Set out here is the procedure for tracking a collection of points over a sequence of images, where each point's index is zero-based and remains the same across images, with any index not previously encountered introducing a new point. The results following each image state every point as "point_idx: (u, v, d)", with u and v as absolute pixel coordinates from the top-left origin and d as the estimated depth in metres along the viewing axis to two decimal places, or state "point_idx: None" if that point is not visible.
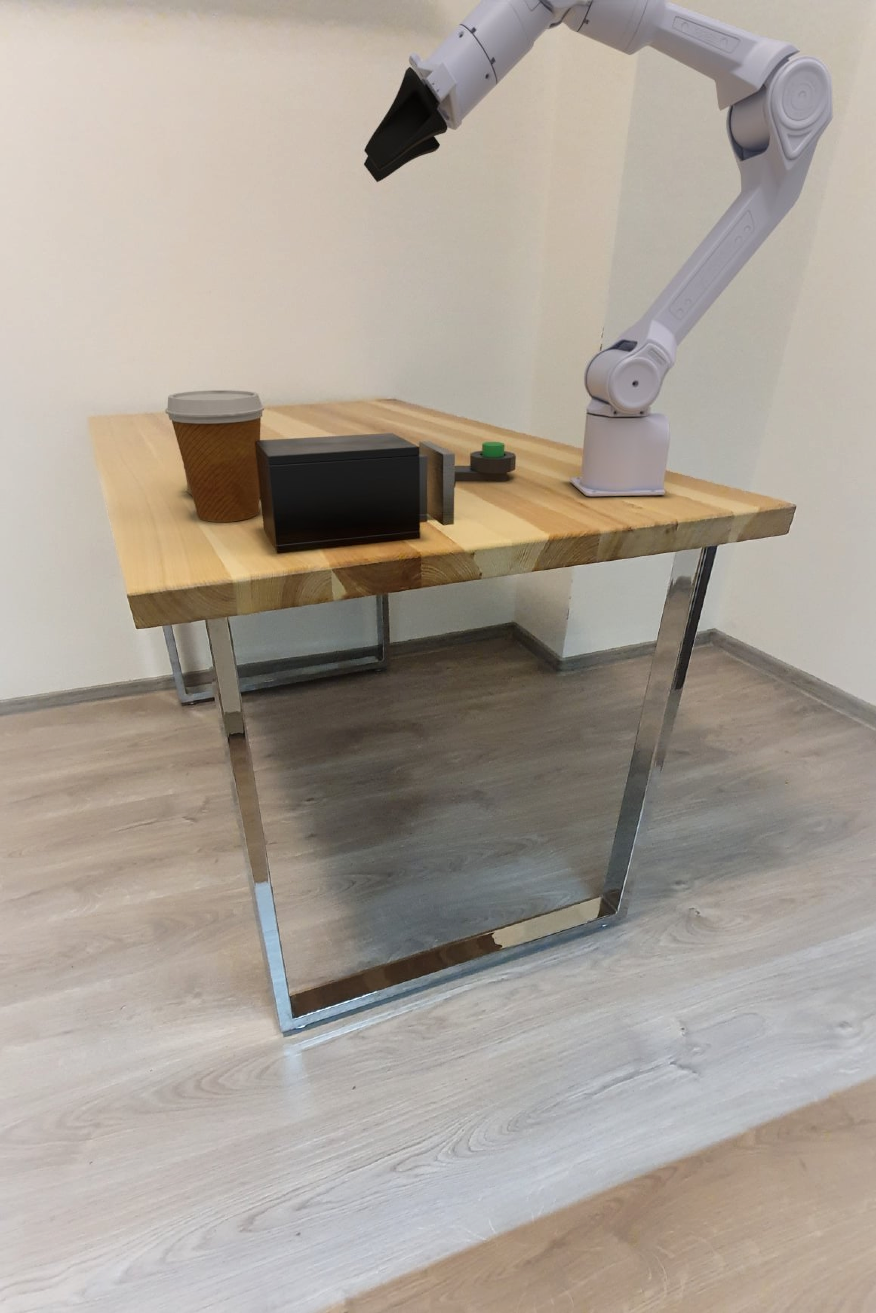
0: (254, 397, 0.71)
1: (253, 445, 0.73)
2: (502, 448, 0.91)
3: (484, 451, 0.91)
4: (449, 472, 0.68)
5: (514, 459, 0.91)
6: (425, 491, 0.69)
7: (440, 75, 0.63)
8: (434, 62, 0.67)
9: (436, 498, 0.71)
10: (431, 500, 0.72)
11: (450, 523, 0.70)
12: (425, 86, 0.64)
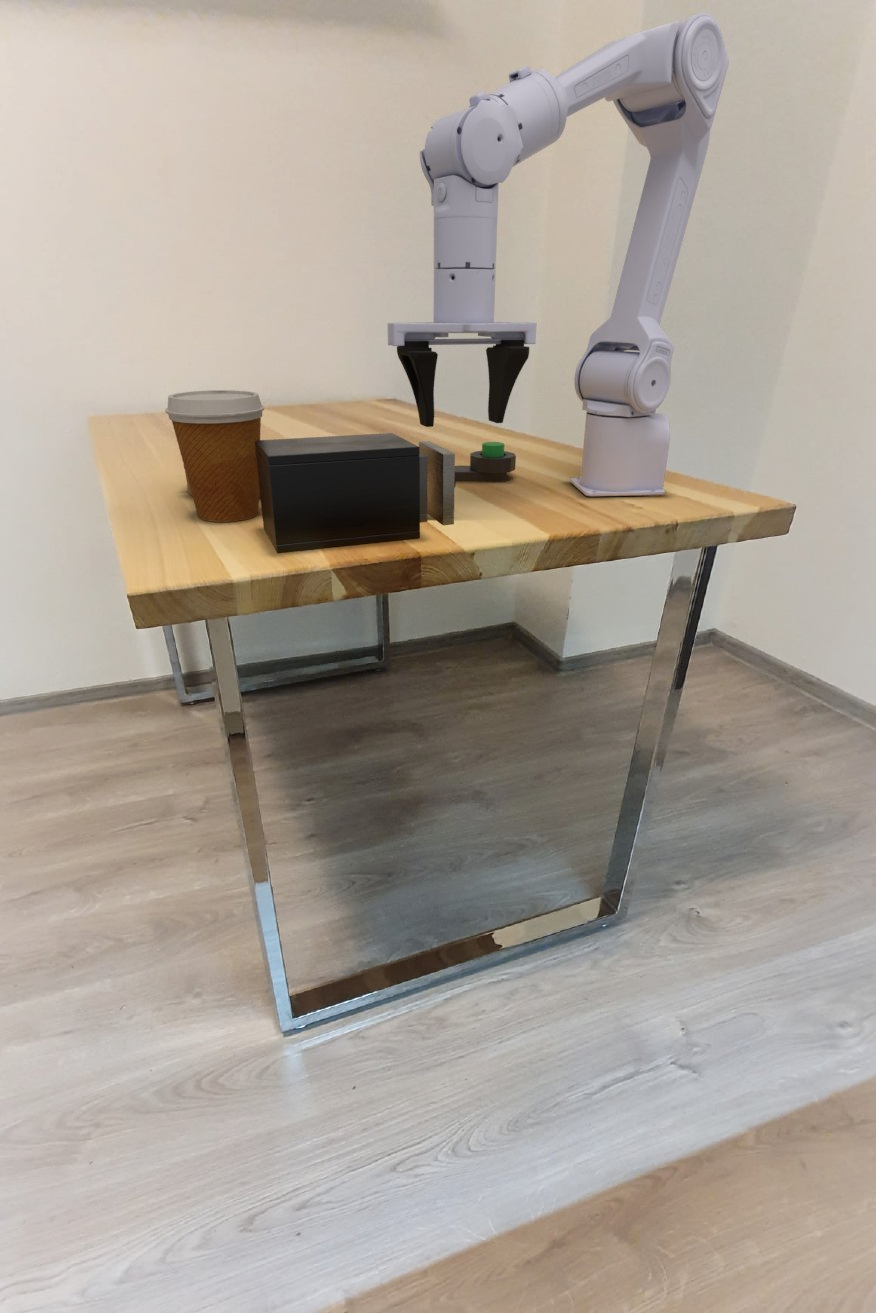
0: (254, 397, 0.71)
1: (253, 445, 0.73)
2: (502, 448, 0.91)
3: (484, 451, 0.91)
4: (449, 472, 0.68)
5: (514, 459, 0.91)
6: (425, 491, 0.69)
7: None
8: (492, 316, 0.67)
9: (436, 498, 0.71)
10: (431, 500, 0.72)
11: (450, 523, 0.70)
12: (523, 346, 0.71)
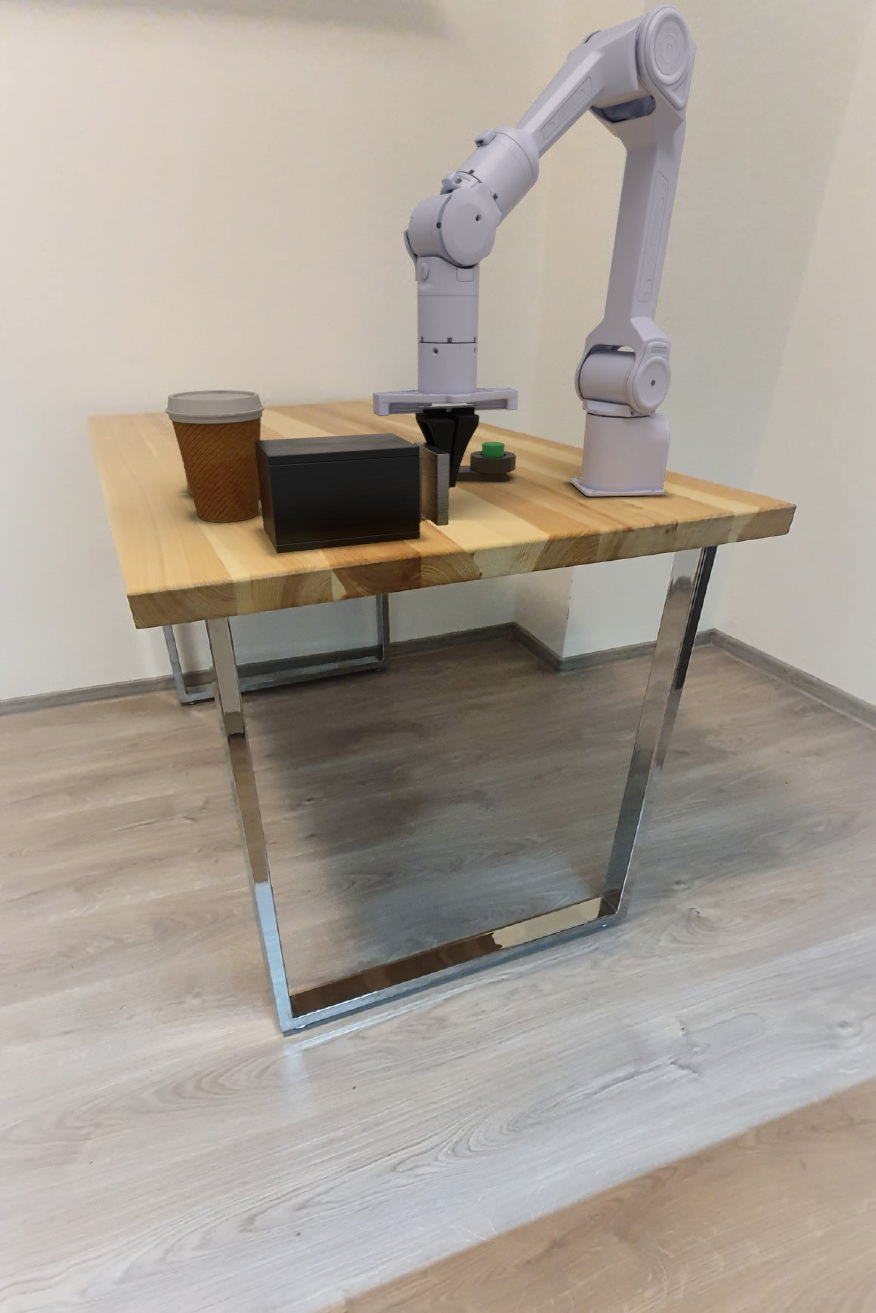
0: (254, 397, 0.71)
1: (253, 445, 0.73)
2: (502, 448, 0.91)
3: (484, 451, 0.91)
4: (443, 472, 0.68)
5: (514, 459, 0.91)
6: None
7: None
8: (474, 386, 0.70)
9: (430, 499, 0.71)
10: (426, 500, 0.72)
11: (445, 524, 0.70)
12: (474, 413, 0.72)
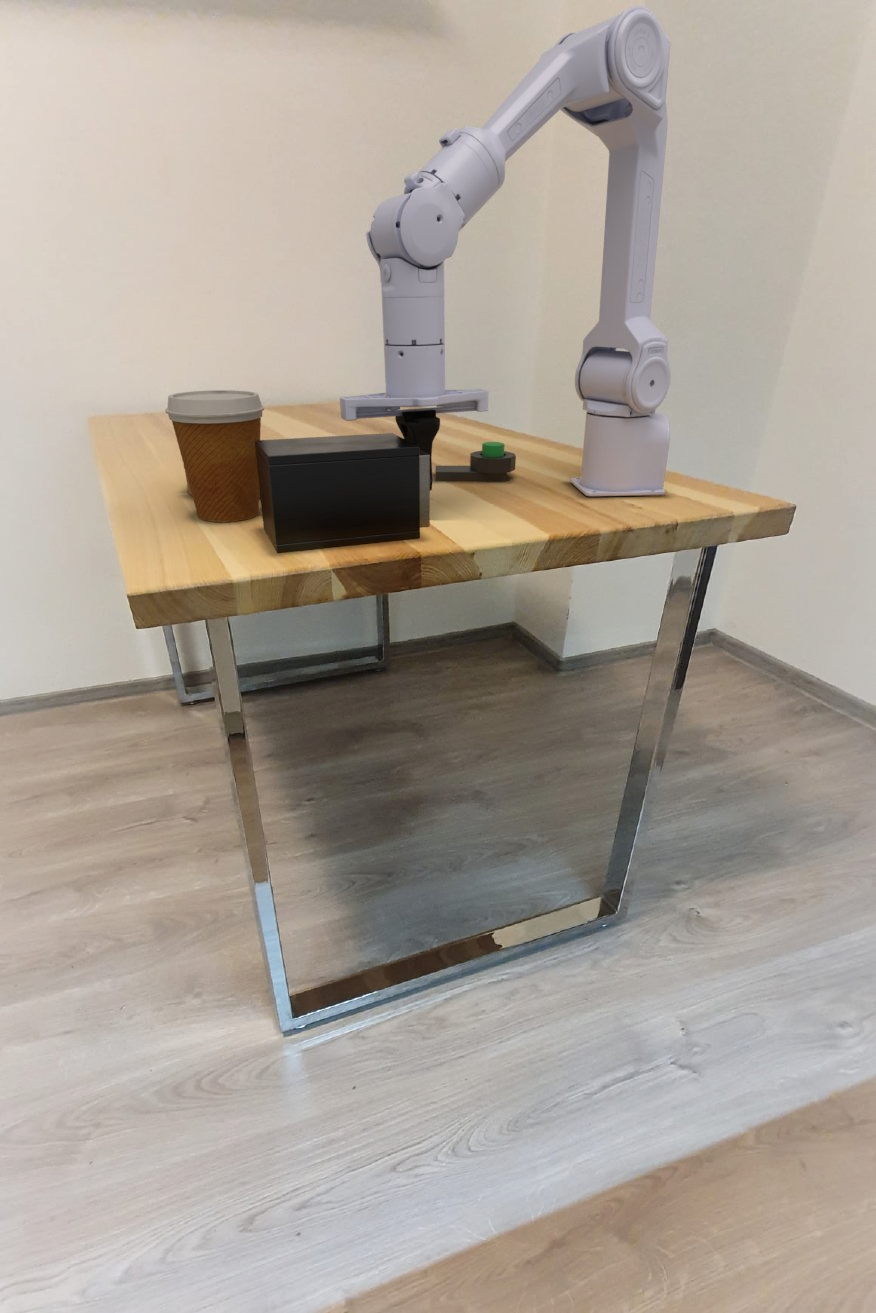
0: (254, 397, 0.71)
1: (253, 445, 0.73)
2: (502, 448, 0.91)
3: (484, 451, 0.91)
4: (424, 474, 0.67)
5: (514, 459, 0.91)
6: None
7: None
8: (442, 388, 0.69)
9: None
10: None
11: (426, 525, 0.70)
12: (435, 416, 0.71)
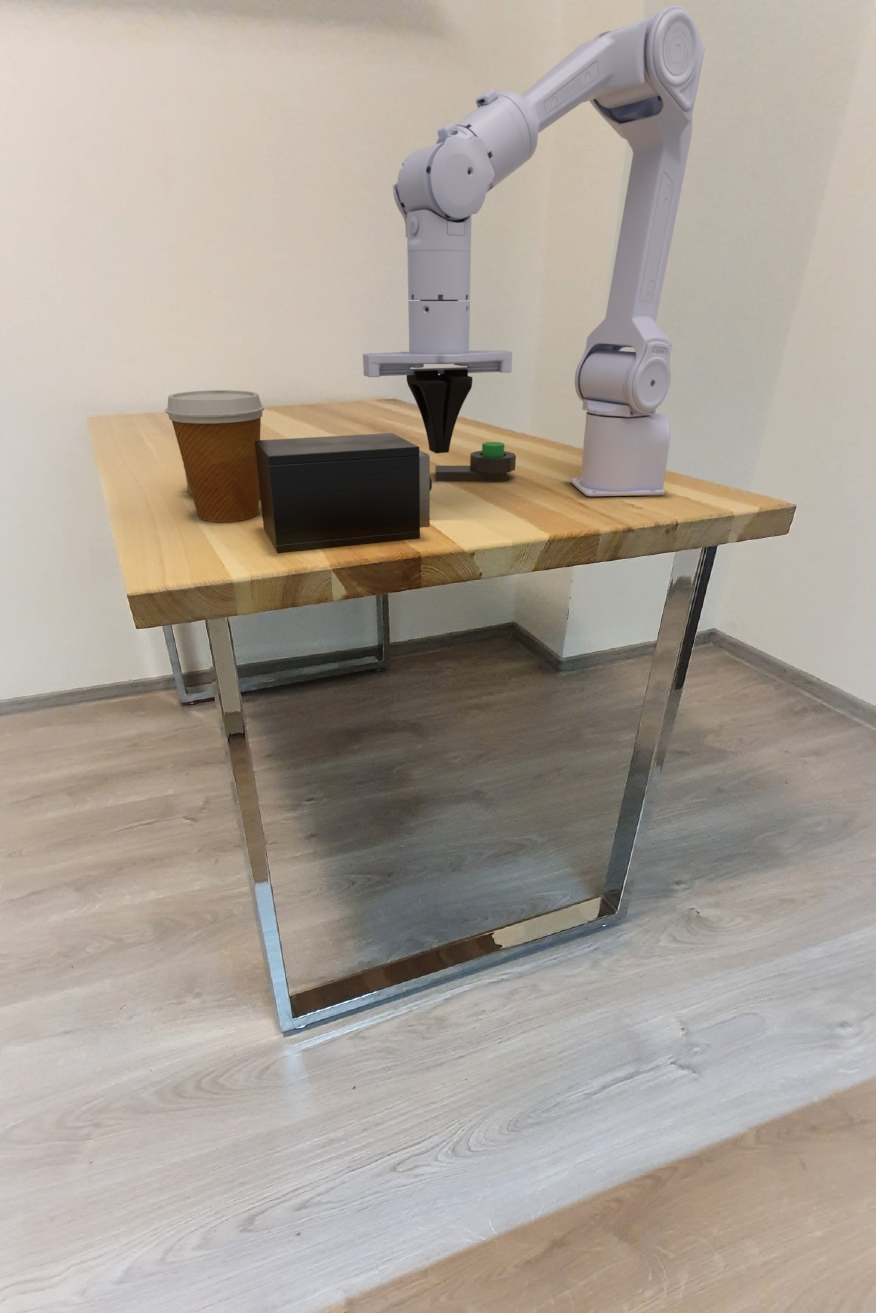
0: (254, 397, 0.71)
1: (253, 445, 0.73)
2: (502, 448, 0.91)
3: (484, 451, 0.91)
4: (424, 474, 0.67)
5: (514, 459, 0.91)
6: None
7: None
8: (467, 347, 0.68)
9: None
10: None
11: (426, 525, 0.70)
12: (467, 375, 0.70)
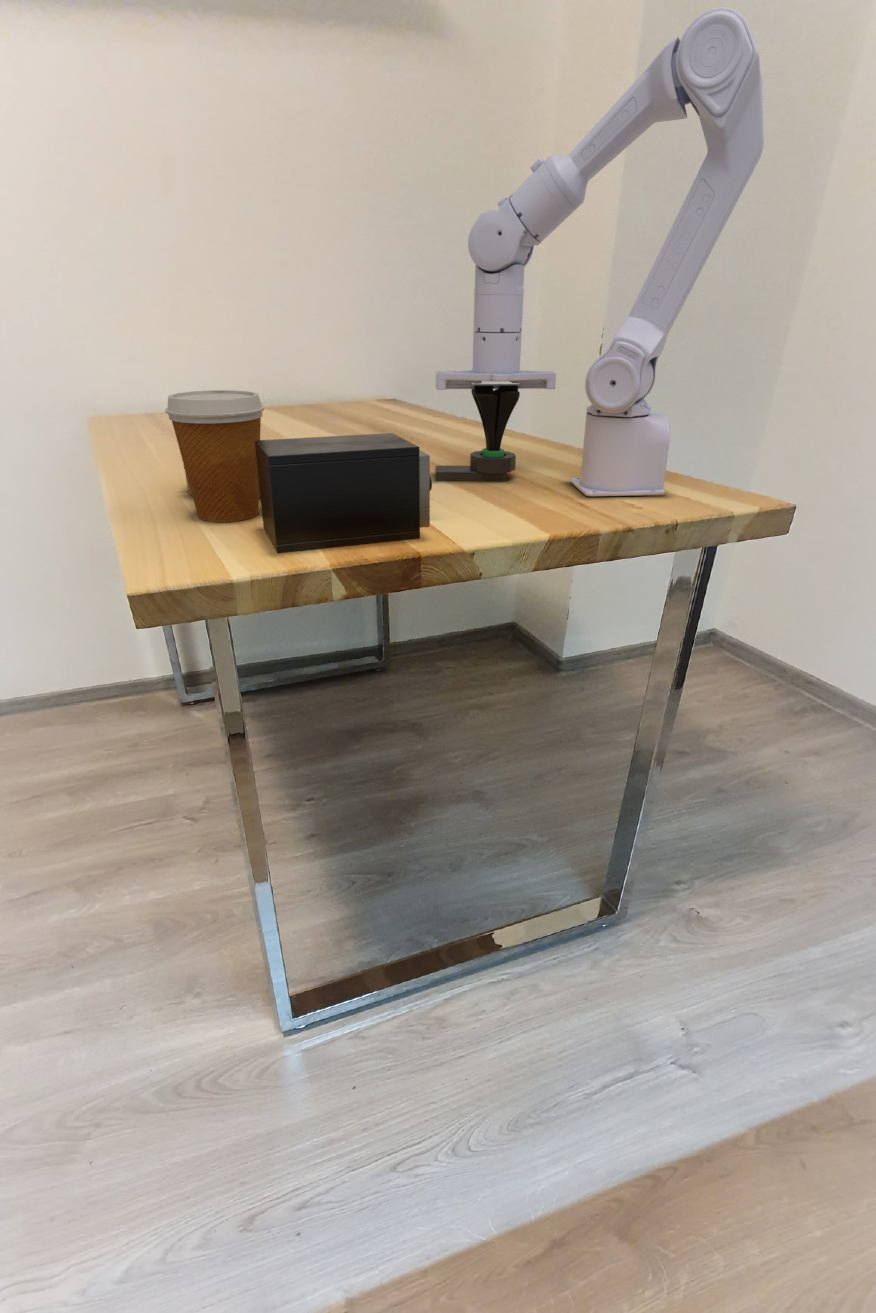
0: (254, 397, 0.71)
1: (253, 445, 0.73)
2: (502, 453, 0.91)
3: None
4: (424, 474, 0.67)
5: (514, 459, 0.91)
6: None
7: None
8: (516, 368, 0.86)
9: None
10: None
11: (426, 525, 0.70)
12: (517, 390, 0.88)
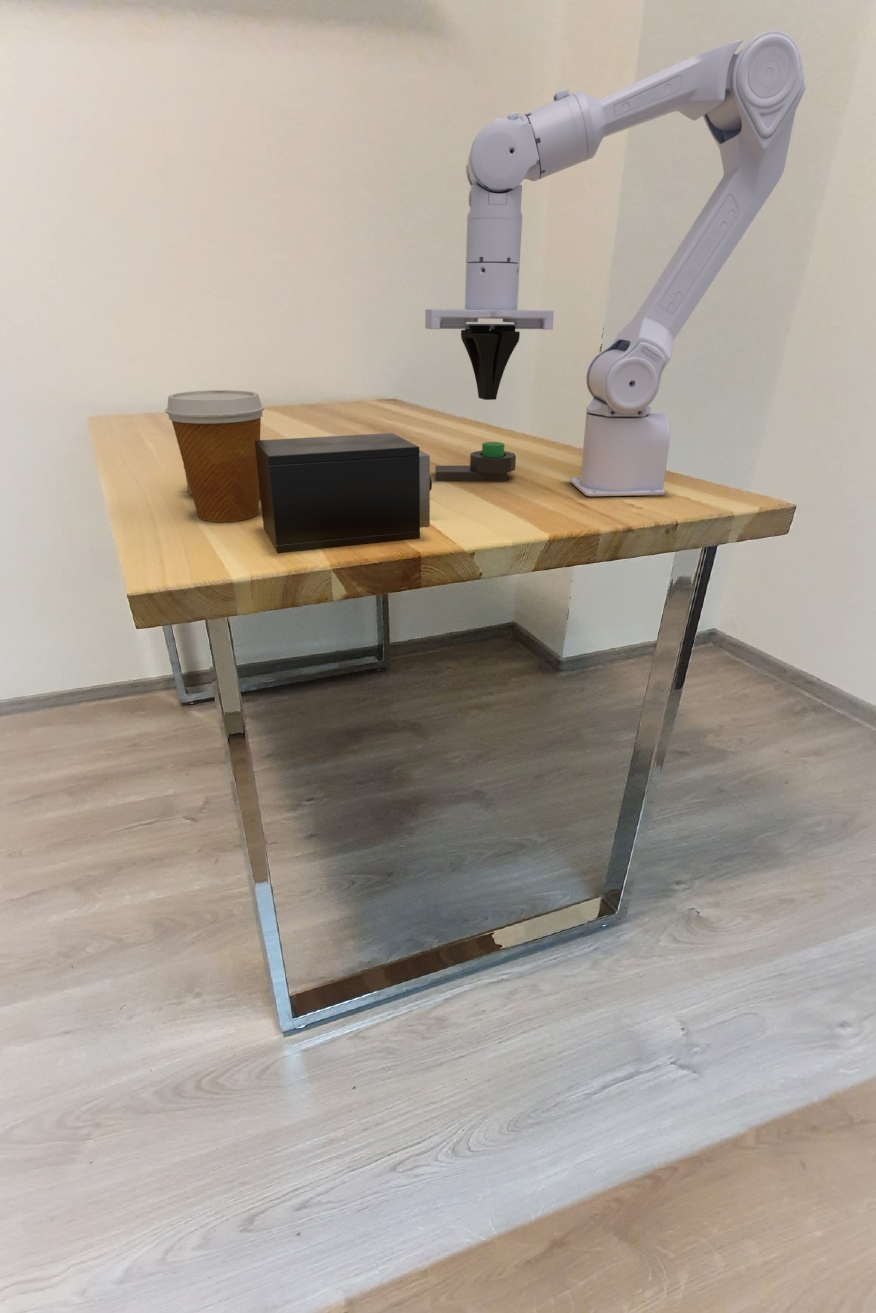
0: (254, 397, 0.71)
1: (253, 445, 0.73)
2: (502, 448, 0.91)
3: (484, 451, 0.91)
4: (424, 474, 0.67)
5: (514, 459, 0.91)
6: None
7: None
8: (516, 304, 0.78)
9: None
10: None
11: (426, 525, 0.70)
12: (514, 331, 0.80)
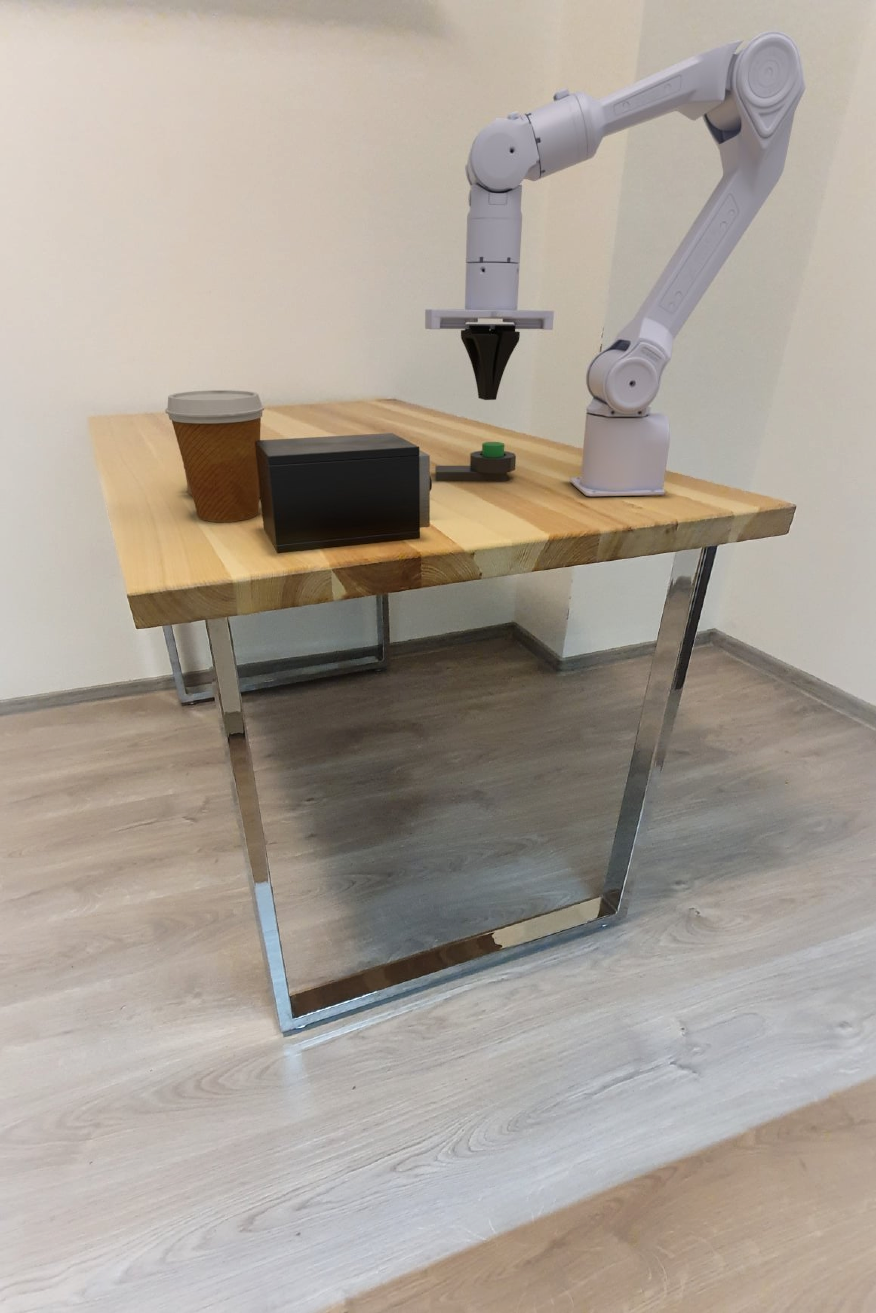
0: (254, 397, 0.71)
1: (253, 445, 0.73)
2: (502, 448, 0.91)
3: (484, 451, 0.91)
4: (424, 474, 0.67)
5: (514, 459, 0.91)
6: None
7: None
8: (516, 304, 0.78)
9: None
10: None
11: (426, 525, 0.70)
12: (514, 331, 0.80)
